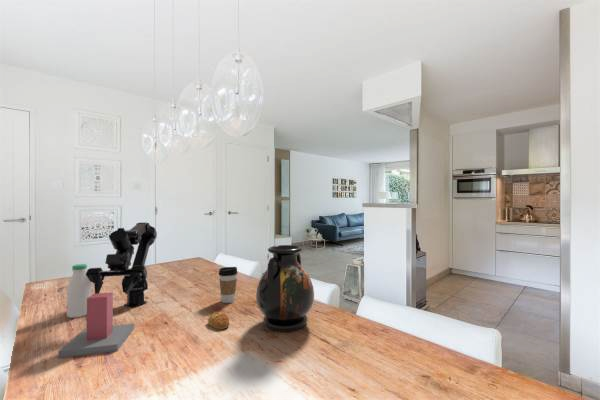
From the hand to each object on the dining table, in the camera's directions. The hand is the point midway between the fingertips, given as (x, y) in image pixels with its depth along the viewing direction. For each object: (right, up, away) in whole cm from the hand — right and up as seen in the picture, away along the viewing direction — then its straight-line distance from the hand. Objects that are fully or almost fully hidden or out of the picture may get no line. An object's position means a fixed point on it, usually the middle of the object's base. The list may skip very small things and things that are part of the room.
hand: (111, 294), depth 97 cm
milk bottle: (-22, -13, +14) cm, 29 cm away
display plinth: (+2, -12, -8) cm, 15 cm away
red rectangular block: (+2, -10, -8) cm, 13 cm away
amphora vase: (+61, -13, +5) cm, 63 cm away
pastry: (+37, -13, +5) cm, 39 cm away
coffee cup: (+34, -13, +29) cm, 46 cm away
